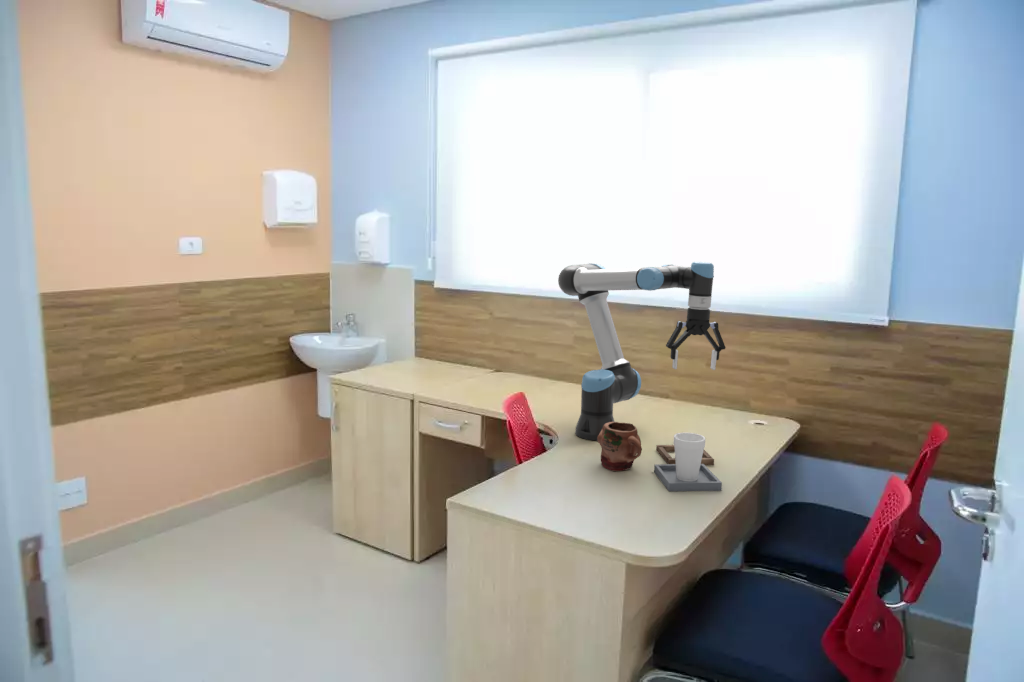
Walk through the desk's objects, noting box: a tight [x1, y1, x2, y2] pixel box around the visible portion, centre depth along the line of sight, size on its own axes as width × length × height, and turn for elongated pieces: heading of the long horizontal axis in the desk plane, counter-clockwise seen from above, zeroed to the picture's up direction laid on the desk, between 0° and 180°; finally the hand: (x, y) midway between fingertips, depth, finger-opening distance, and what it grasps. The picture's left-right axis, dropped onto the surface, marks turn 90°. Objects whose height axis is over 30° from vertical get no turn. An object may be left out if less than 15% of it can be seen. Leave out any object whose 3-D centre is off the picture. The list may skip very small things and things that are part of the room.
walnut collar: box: [655, 444, 715, 466], centre depth 243 cm, size 15×15×2 cm
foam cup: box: [672, 432, 706, 482], centre depth 221 cm, size 10×9×13 cm
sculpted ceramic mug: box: [596, 421, 643, 472], centre depth 231 cm, size 20×12×14 cm, turn 34°
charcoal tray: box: [653, 463, 723, 492], centre depth 222 cm, size 16×16×2 cm
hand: (693, 368), depth 250 cm, fingers open, 13 cm apart
